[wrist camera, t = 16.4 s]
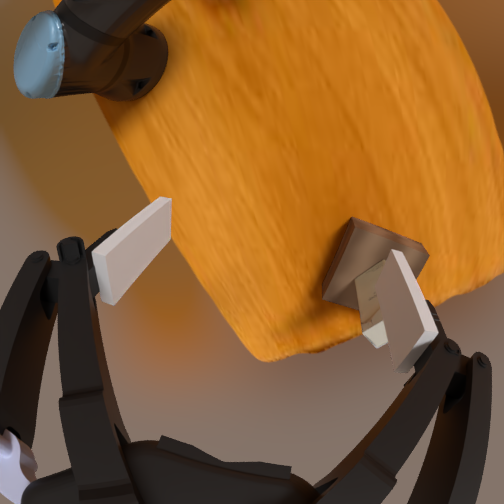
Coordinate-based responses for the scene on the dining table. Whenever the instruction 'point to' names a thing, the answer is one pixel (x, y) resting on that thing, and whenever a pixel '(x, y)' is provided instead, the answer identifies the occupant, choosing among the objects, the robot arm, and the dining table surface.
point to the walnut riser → (366, 259)
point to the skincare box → (371, 306)
